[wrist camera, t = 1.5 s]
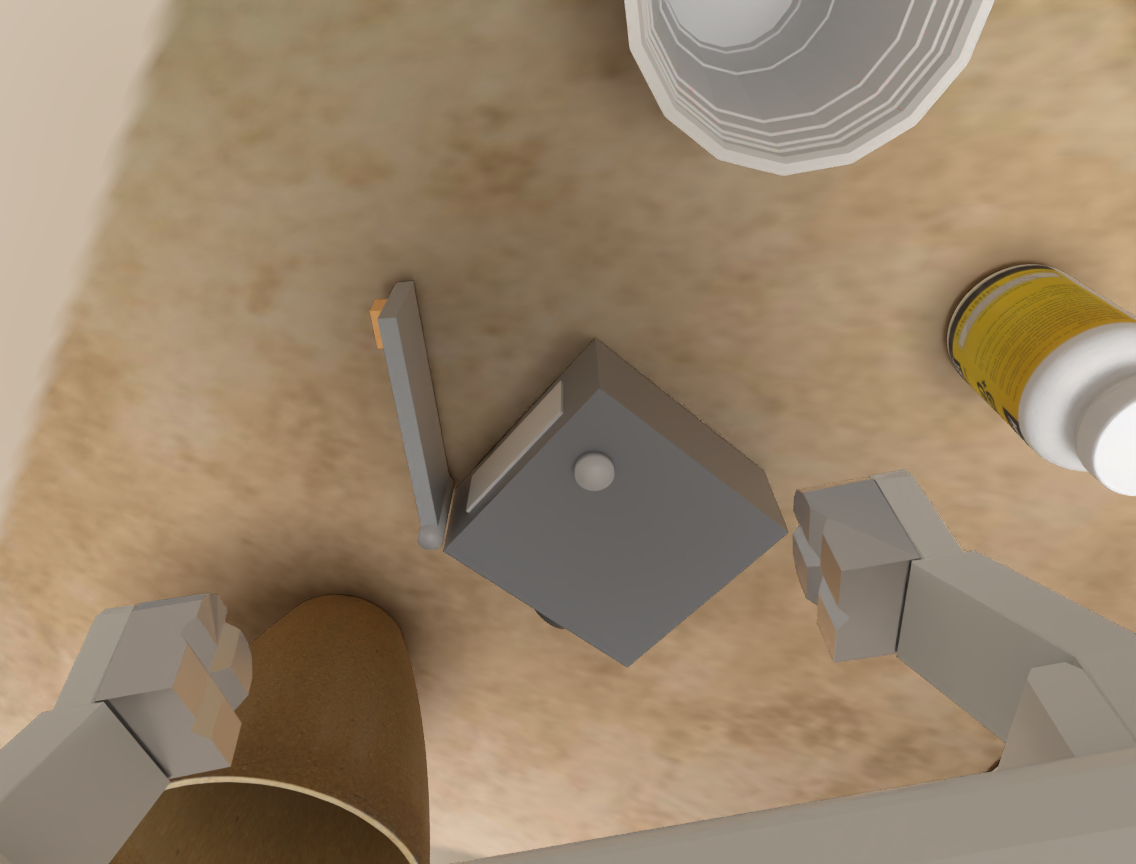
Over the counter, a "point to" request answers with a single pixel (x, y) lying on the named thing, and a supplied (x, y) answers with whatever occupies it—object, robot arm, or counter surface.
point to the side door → (415, 408)
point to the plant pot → (309, 755)
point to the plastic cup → (800, 72)
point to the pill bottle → (1053, 368)
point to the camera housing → (612, 509)
